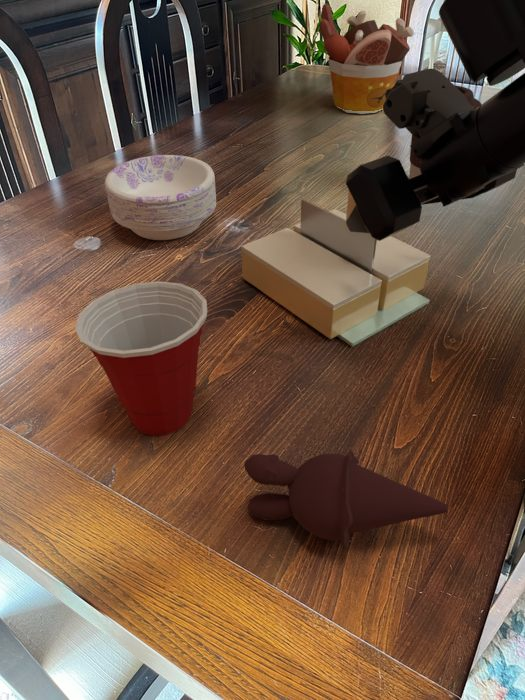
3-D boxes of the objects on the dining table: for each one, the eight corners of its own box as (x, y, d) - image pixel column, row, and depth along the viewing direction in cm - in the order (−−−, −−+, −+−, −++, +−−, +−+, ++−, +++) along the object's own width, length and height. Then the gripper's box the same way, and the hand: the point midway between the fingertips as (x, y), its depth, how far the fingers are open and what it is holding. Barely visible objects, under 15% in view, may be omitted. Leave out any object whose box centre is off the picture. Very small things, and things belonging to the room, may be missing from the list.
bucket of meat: (404, 99, 129) (419, -1, 116) (401, 121, 117) (416, 12, 104) (320, 94, 133) (325, -3, 120) (307, 115, 121) (311, 9, 108)
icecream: (448, 438, 42) (254, 422, 45) (457, 503, 35) (229, 479, 38) (440, 511, 44) (258, 491, 48) (447, 583, 38) (236, 554, 41)
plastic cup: (177, 359, 59) (163, 261, 51) (240, 417, 52) (234, 314, 44) (82, 407, 53) (50, 305, 46) (139, 477, 47) (112, 372, 39)
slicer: (377, 275, 63) (389, 193, 57) (363, 283, 62) (373, 199, 56) (307, 236, 71) (311, 159, 64) (293, 242, 70) (295, 164, 63)
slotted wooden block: (436, 299, 67) (445, 262, 63) (343, 352, 59) (347, 313, 56) (322, 237, 79) (324, 203, 76) (233, 274, 71) (231, 239, 68)
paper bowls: (157, 263, 74) (149, 208, 69) (93, 227, 82) (82, 175, 77) (239, 224, 82) (237, 172, 77) (174, 194, 90) (168, 146, 85)
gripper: (524, 26, 48) (405, 124, 62) (377, 59, 39) (276, 165, 53) (579, 142, 48) (449, 214, 62) (445, 201, 40) (328, 270, 53)
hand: (380, 213), depth 58 cm, fingers open, 9 cm apart
